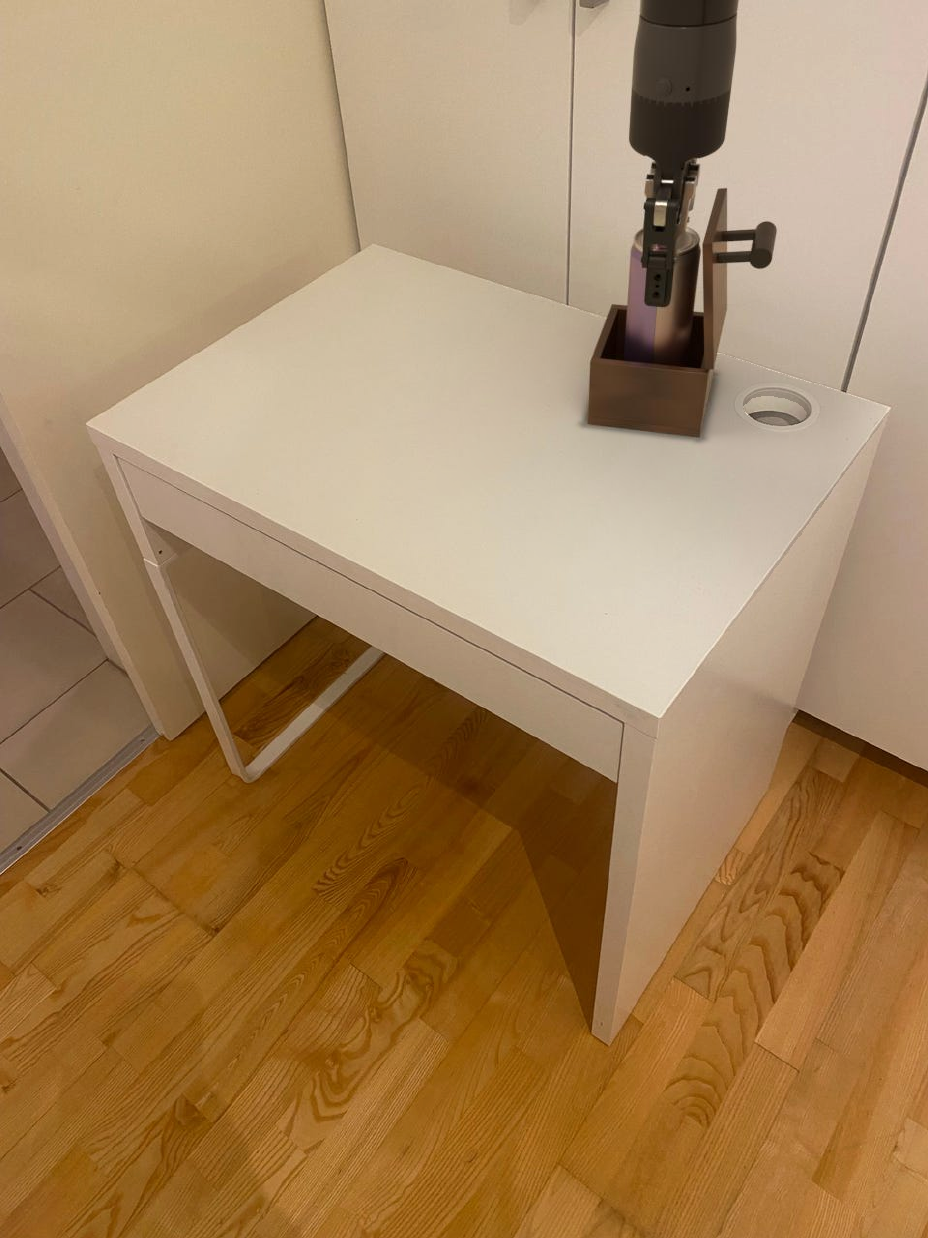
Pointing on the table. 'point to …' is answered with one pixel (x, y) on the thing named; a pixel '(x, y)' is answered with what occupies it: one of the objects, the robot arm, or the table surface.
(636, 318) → the beverage can
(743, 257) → the lid
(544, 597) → the table surface
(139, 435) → the table surface
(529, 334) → the table surface
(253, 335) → the table surface
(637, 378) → the chest
